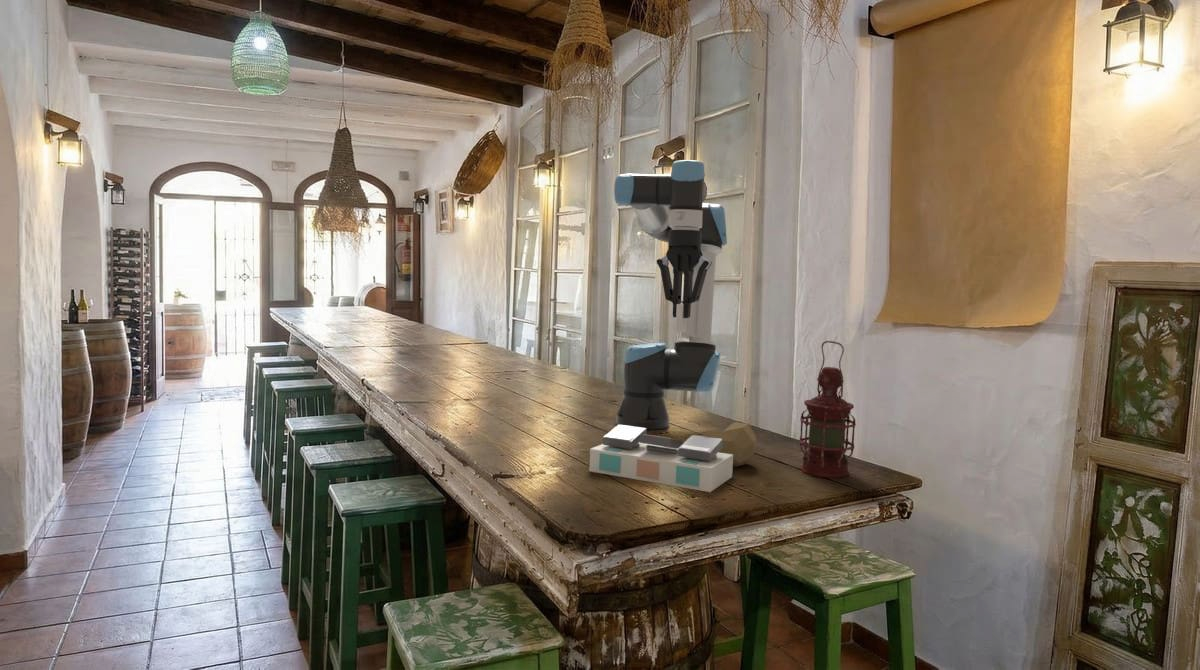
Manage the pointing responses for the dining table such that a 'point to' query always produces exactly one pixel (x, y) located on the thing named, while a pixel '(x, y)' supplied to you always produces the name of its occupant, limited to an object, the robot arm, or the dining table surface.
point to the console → (662, 466)
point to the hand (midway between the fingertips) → (680, 332)
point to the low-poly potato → (736, 442)
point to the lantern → (827, 426)
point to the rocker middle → (660, 441)
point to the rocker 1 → (624, 436)
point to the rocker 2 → (700, 447)
